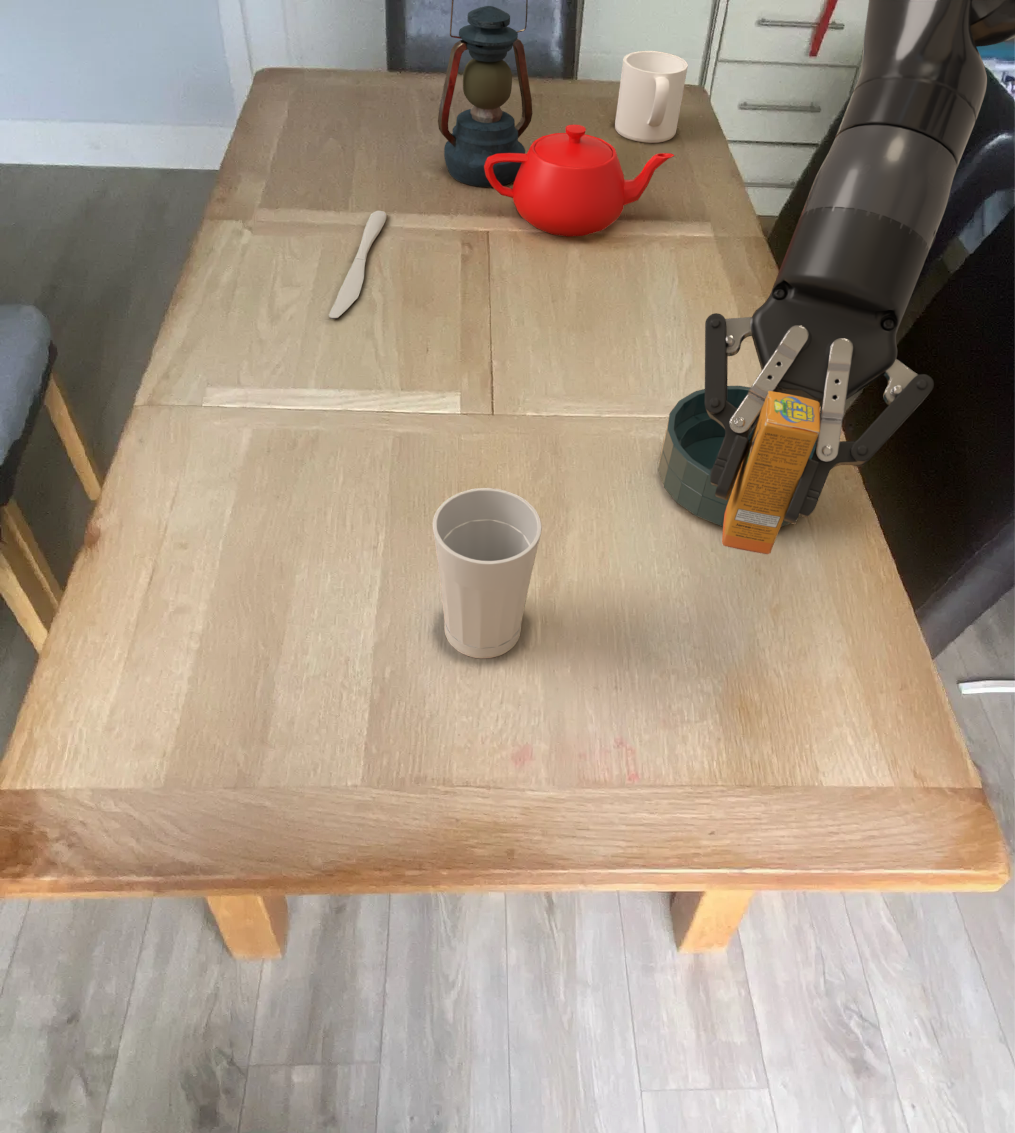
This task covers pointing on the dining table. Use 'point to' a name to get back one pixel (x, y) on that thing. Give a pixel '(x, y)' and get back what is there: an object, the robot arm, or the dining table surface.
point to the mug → (650, 96)
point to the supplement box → (770, 471)
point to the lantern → (485, 98)
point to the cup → (485, 567)
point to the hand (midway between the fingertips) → (756, 508)
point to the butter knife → (358, 266)
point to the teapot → (571, 182)
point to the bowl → (697, 455)
